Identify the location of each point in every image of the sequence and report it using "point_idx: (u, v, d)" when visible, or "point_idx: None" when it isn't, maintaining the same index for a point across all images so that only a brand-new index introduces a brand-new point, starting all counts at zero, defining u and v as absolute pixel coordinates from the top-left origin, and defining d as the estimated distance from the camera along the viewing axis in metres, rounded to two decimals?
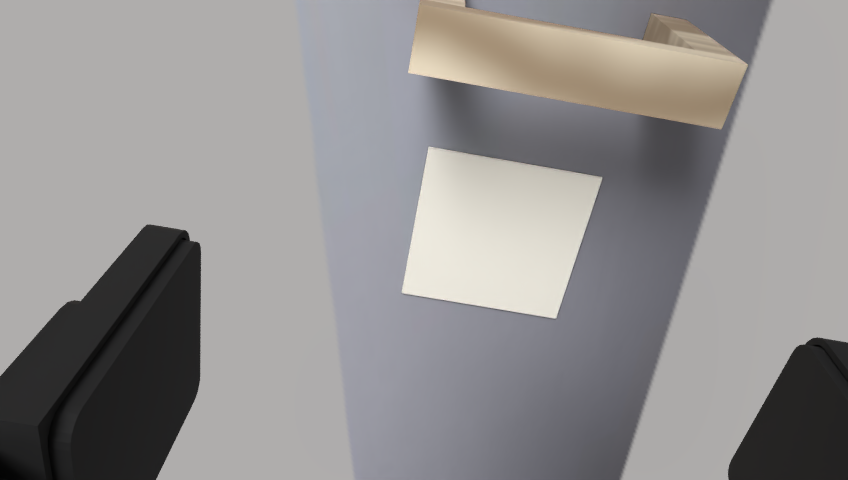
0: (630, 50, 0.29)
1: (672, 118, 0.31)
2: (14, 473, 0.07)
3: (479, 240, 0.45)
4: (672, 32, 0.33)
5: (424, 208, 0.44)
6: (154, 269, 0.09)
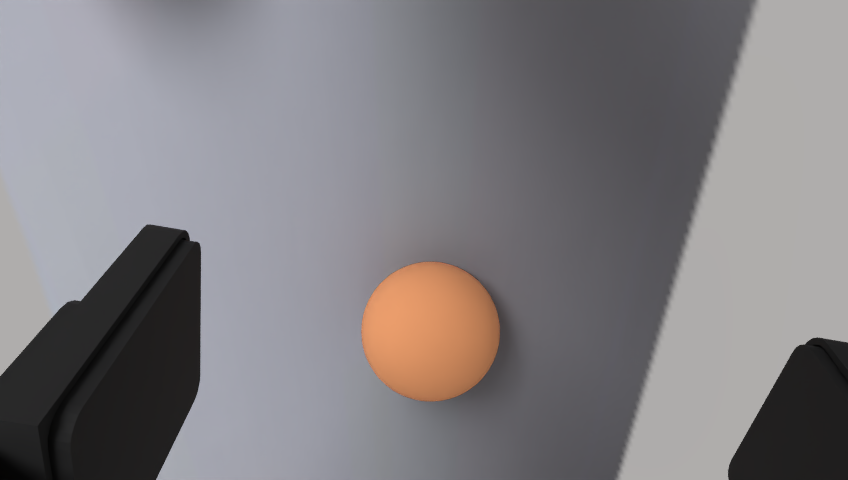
0: None
1: None
2: (14, 473, 0.07)
3: None
4: None
5: None
6: (154, 269, 0.09)
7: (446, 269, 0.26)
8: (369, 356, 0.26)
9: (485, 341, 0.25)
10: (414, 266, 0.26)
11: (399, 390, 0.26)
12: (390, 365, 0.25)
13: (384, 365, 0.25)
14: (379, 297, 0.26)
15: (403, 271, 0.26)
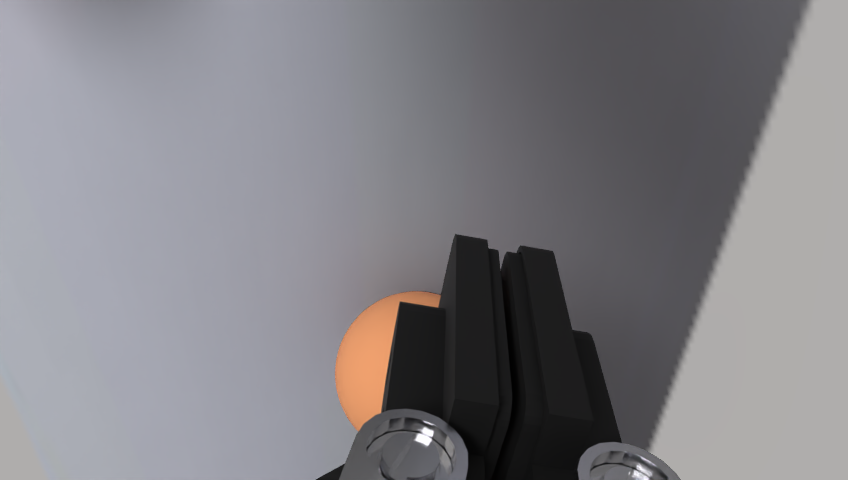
0: None
1: None
2: None
3: None
4: None
5: None
6: (487, 274, 0.10)
7: (434, 303, 0.22)
8: (343, 405, 0.22)
9: None
10: (397, 299, 0.22)
11: None
12: (367, 418, 0.21)
13: (360, 418, 0.21)
14: (355, 337, 0.22)
15: (384, 305, 0.22)
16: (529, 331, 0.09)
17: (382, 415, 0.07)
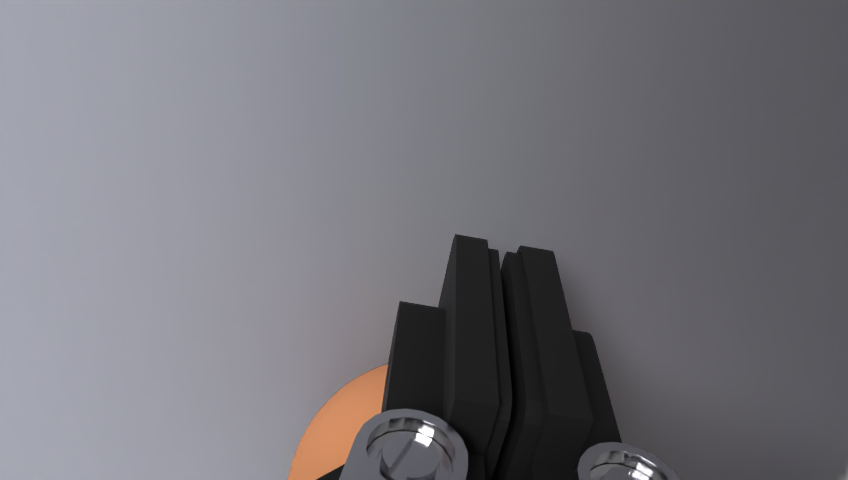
0: None
1: None
2: None
3: None
4: None
5: None
6: (487, 274, 0.10)
7: None
8: None
9: None
10: None
11: None
12: None
13: None
14: None
15: None
16: (529, 331, 0.09)
17: (382, 415, 0.07)
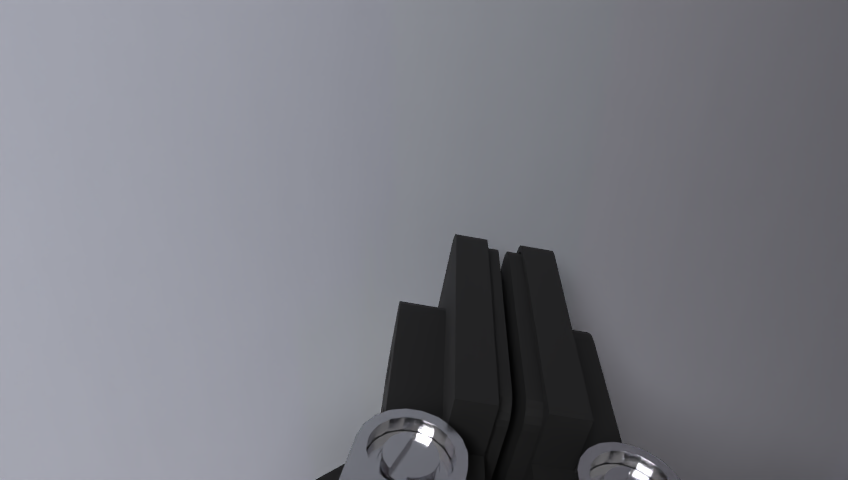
0: None
1: None
2: None
3: None
4: None
5: None
6: (488, 274, 0.10)
7: None
8: None
9: None
10: None
11: None
12: None
13: None
14: None
15: None
16: (529, 331, 0.09)
17: (382, 415, 0.07)
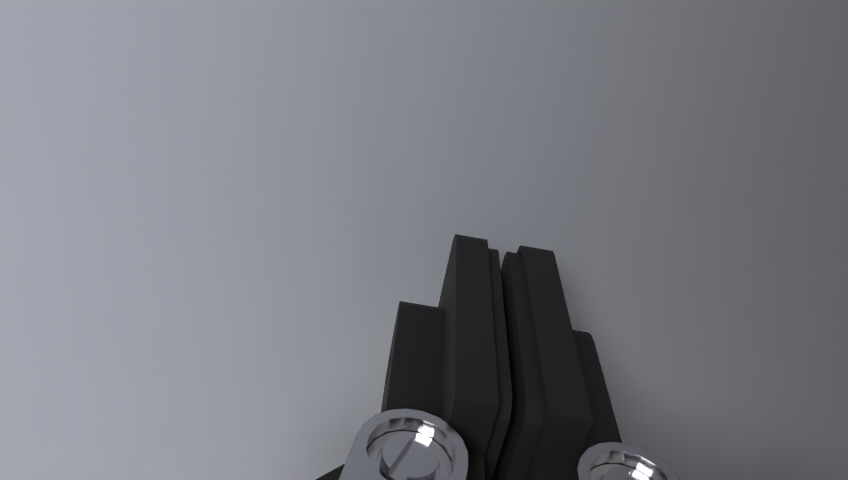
0: None
1: None
2: None
3: None
4: None
5: None
6: (488, 274, 0.10)
7: None
8: None
9: None
10: None
11: None
12: None
13: None
14: None
15: None
16: (529, 331, 0.09)
17: (382, 415, 0.07)
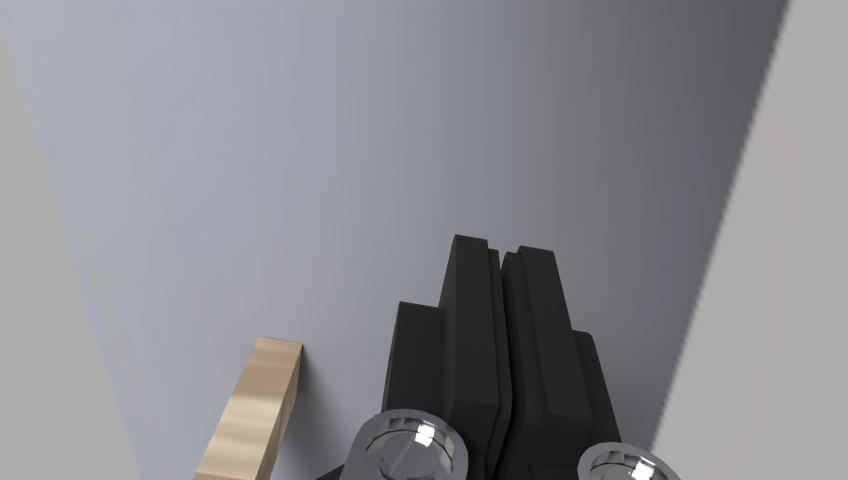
0: None
1: None
2: None
3: None
4: None
5: None
6: (487, 274, 0.10)
7: None
8: None
9: None
10: None
11: None
12: None
13: None
14: None
15: None
16: (529, 331, 0.09)
17: (382, 415, 0.07)
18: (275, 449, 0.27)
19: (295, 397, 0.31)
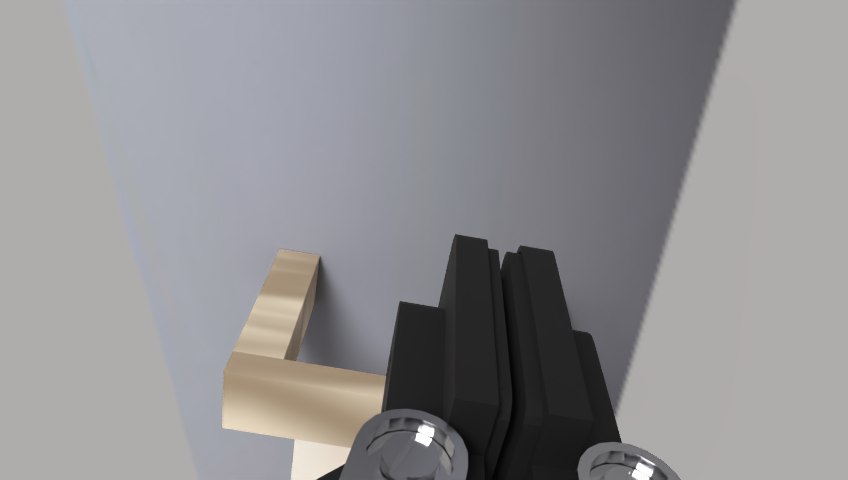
0: None
1: None
2: None
3: None
4: None
5: (300, 456, 0.41)
6: (487, 274, 0.10)
7: None
8: None
9: None
10: None
11: None
12: None
13: None
14: None
15: None
16: (529, 331, 0.09)
17: (382, 415, 0.07)
18: (298, 343, 0.31)
19: (313, 305, 0.35)
